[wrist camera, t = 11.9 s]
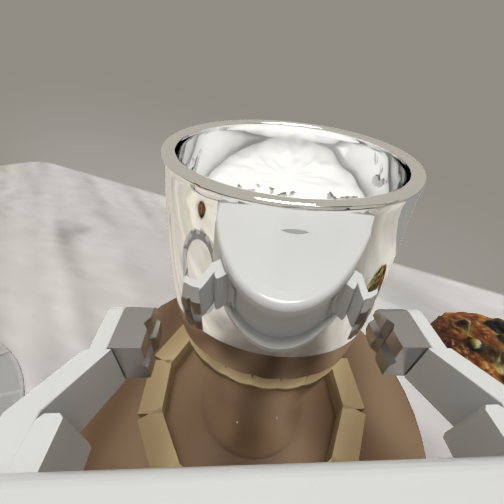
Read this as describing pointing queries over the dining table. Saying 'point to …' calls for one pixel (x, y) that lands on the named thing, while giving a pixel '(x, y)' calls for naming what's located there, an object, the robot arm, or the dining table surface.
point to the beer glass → (278, 260)
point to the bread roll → (474, 340)
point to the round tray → (214, 454)
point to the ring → (9, 380)
